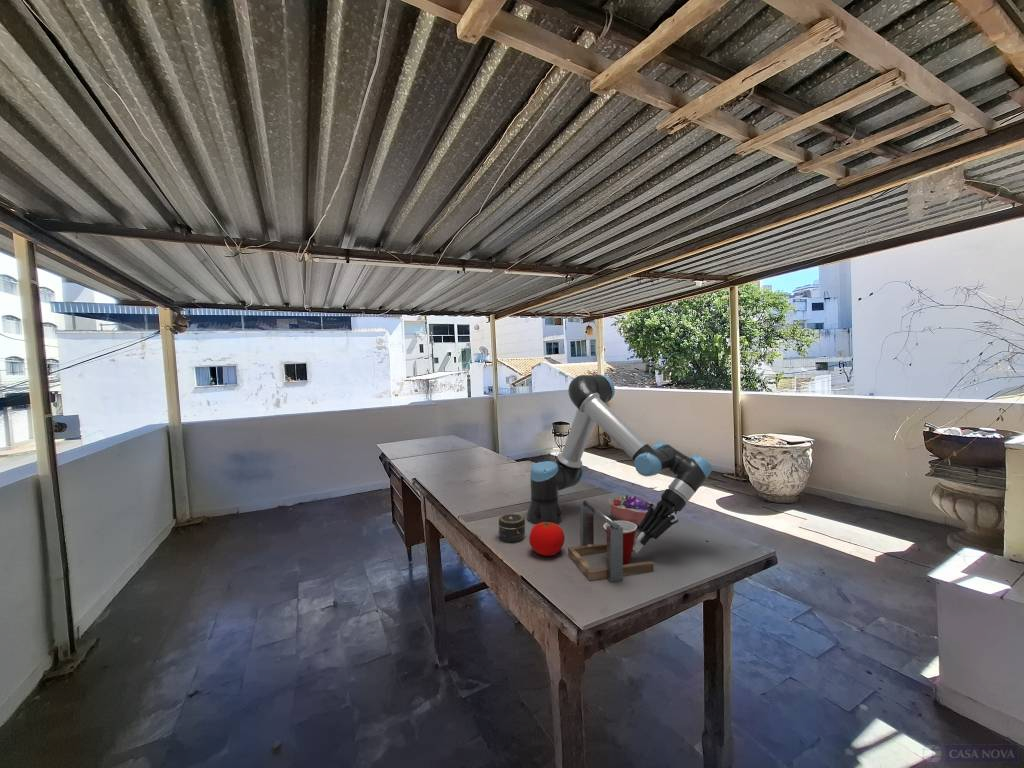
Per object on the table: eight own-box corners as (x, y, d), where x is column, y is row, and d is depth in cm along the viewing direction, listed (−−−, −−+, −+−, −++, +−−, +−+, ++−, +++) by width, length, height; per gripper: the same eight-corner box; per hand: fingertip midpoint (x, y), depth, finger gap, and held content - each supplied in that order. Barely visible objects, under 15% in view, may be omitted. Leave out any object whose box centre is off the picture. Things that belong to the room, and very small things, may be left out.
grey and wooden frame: (565, 551, 135) (564, 502, 135) (621, 544, 140) (621, 496, 140) (593, 585, 113) (592, 527, 113) (658, 575, 118) (658, 519, 118)
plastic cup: (613, 550, 136) (613, 516, 135) (643, 559, 128) (642, 524, 128) (597, 561, 128) (596, 525, 127) (627, 572, 120) (627, 534, 120)
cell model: (626, 511, 173) (626, 486, 172) (665, 526, 156) (665, 498, 156) (599, 520, 164) (599, 493, 163) (638, 536, 147) (637, 506, 146)
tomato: (523, 553, 134) (523, 523, 134) (545, 542, 143) (544, 513, 142) (549, 564, 126) (549, 532, 126) (570, 551, 135) (570, 521, 135)
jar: (507, 545, 140) (507, 525, 140) (494, 536, 149) (493, 516, 148) (530, 539, 145) (530, 519, 145) (515, 530, 154) (515, 511, 154)
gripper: (697, 508, 126) (652, 566, 122) (671, 496, 139) (630, 548, 135) (683, 494, 125) (637, 552, 121) (658, 483, 137) (616, 535, 134)
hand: (633, 550), depth 128 cm, fingers closed
